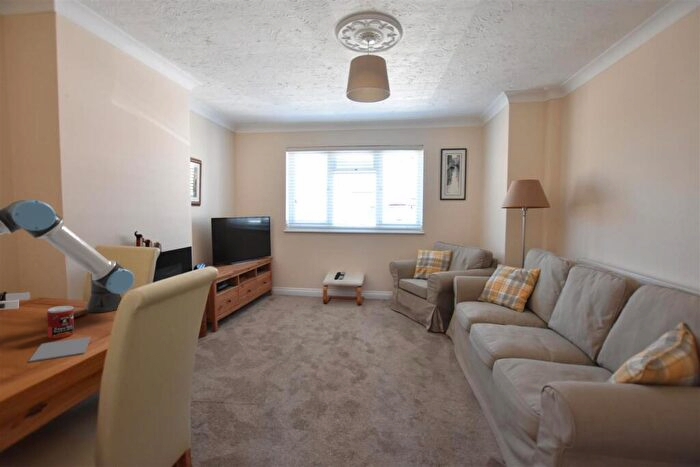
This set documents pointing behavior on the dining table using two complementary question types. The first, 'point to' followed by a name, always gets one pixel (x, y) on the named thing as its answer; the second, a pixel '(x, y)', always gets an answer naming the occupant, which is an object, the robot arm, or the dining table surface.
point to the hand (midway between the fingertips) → (24, 299)
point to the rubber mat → (60, 349)
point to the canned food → (60, 322)
